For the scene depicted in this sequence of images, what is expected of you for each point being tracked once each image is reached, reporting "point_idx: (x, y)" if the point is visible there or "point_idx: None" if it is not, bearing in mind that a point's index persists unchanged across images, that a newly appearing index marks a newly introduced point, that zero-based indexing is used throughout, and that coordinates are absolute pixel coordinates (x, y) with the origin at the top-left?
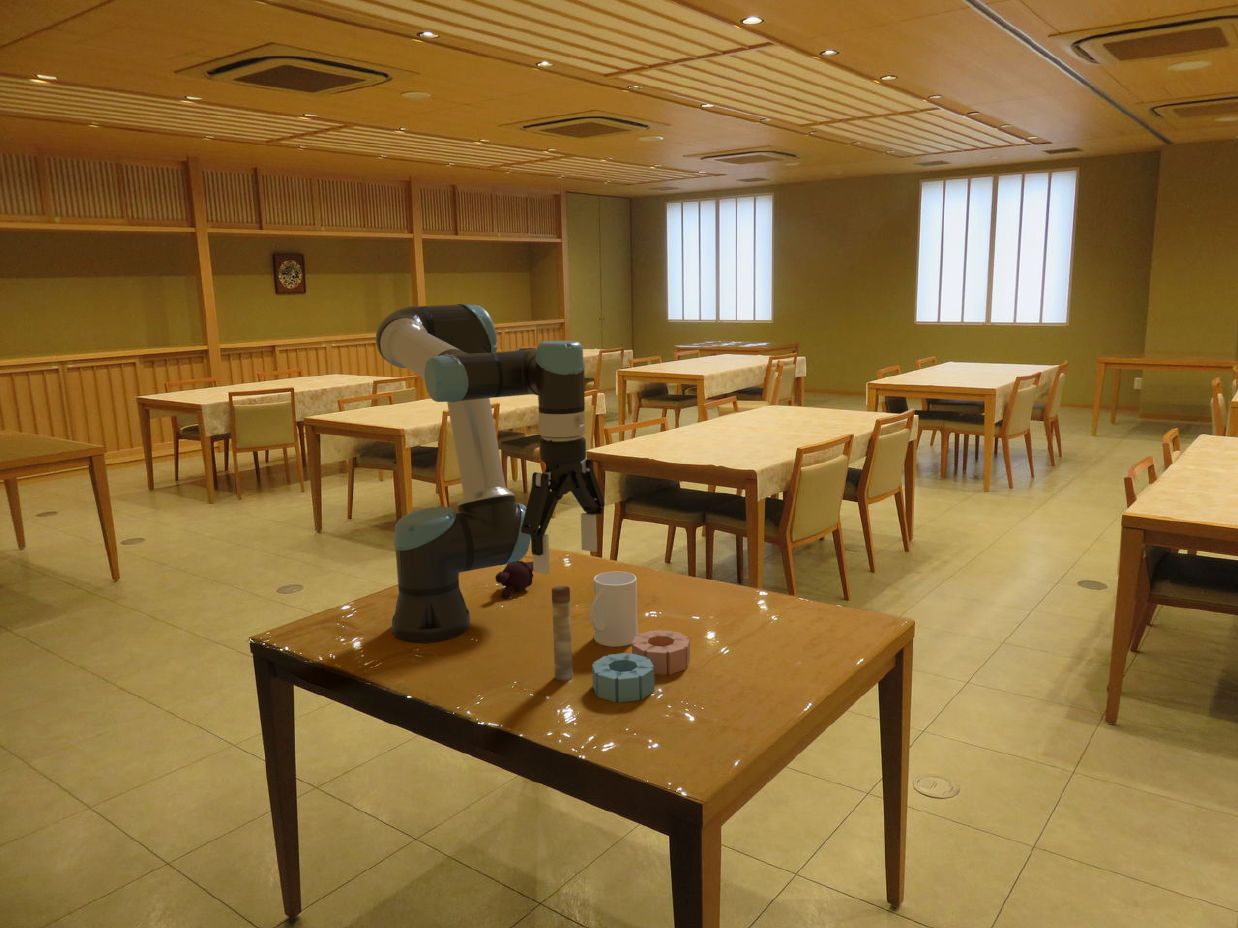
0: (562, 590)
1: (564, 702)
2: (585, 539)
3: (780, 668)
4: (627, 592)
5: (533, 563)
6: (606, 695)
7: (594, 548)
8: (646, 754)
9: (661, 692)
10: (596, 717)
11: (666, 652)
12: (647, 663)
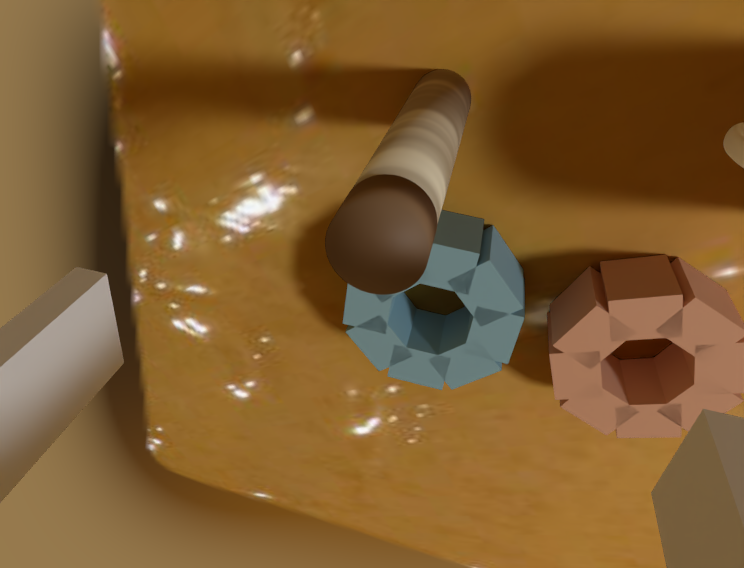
0: (360, 266)
1: (300, 173)
2: (711, 521)
3: (655, 545)
4: None
5: (33, 303)
6: None
7: (657, 517)
8: (207, 387)
9: None
10: (274, 271)
11: (561, 398)
12: (467, 372)
